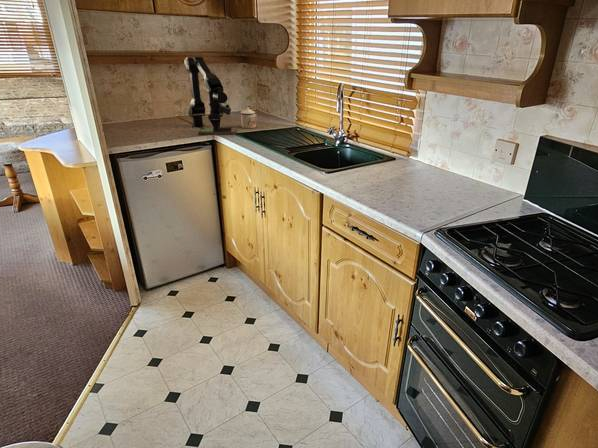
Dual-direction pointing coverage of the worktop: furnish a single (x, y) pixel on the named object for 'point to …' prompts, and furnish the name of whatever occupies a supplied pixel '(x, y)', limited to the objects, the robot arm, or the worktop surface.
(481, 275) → the worktop surface
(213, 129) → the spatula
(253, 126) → the teacup with lid
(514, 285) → the worktop surface
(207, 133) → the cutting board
